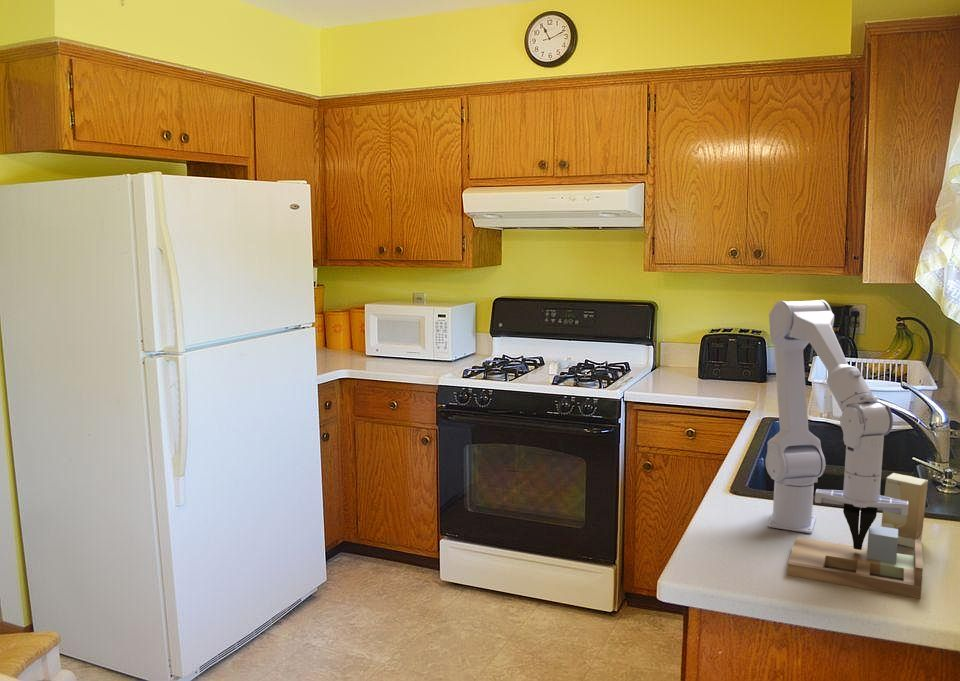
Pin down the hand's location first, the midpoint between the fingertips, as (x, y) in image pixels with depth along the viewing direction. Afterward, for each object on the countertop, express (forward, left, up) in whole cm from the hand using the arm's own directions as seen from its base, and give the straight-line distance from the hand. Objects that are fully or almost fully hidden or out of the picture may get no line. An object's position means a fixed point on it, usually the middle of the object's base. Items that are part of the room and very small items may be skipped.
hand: (857, 547), depth 145 cm
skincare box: (-15, +7, -3) cm, 17 cm away
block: (0, +4, -1) cm, 4 cm away
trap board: (+3, 0, -3) cm, 5 cm away
